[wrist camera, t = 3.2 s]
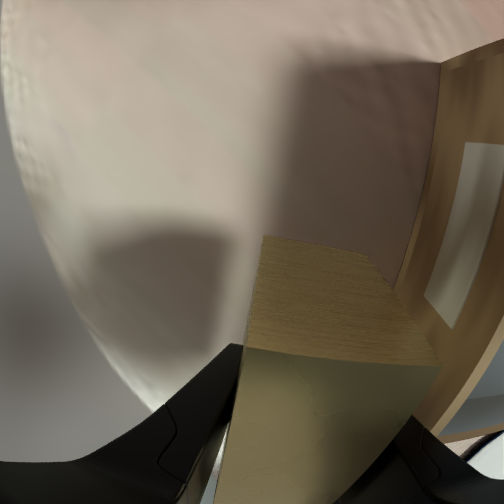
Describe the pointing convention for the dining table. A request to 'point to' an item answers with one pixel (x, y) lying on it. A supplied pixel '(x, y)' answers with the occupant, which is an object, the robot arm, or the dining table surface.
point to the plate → (490, 458)
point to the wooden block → (319, 377)
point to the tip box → (462, 250)
